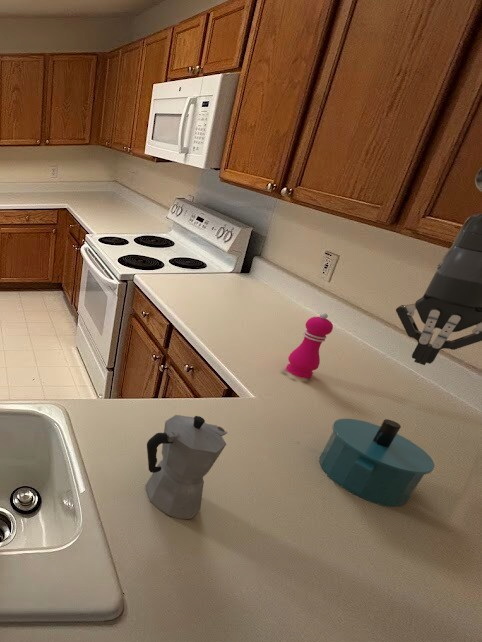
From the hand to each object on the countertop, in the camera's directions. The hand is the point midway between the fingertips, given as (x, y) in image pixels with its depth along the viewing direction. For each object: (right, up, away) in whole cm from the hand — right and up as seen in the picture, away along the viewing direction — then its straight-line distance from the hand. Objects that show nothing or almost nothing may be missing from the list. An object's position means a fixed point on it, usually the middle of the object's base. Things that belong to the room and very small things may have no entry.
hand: (419, 362), depth 77 cm
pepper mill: (+13, -11, +45) cm, 48 cm away
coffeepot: (-49, -25, -3) cm, 55 cm away
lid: (-4, -17, +3) cm, 18 cm away
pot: (-5, -25, +6) cm, 26 cm away
